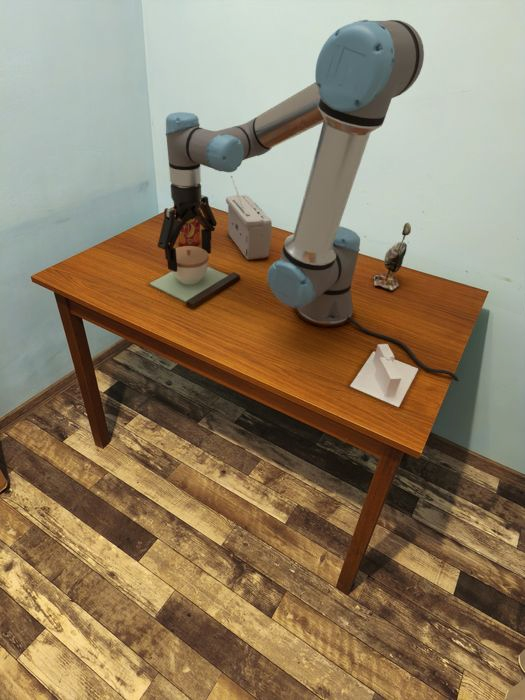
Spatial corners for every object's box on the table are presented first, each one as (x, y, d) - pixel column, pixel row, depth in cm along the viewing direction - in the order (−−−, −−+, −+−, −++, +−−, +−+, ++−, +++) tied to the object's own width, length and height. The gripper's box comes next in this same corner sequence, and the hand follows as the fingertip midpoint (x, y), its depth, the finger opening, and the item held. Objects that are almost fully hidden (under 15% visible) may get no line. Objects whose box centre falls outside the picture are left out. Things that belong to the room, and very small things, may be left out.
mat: (229, 277, 133) (229, 275, 133) (186, 303, 122) (186, 301, 121) (193, 261, 139) (193, 259, 139) (149, 284, 128) (149, 283, 127)
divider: (239, 279, 133) (240, 274, 132) (193, 309, 120) (192, 304, 119) (233, 276, 134) (233, 271, 133) (186, 305, 121) (186, 300, 120)
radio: (270, 259, 143) (275, 196, 130) (245, 263, 140) (248, 199, 128) (247, 231, 158) (249, 172, 145) (224, 233, 155) (225, 174, 142)
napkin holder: (399, 407, 97) (406, 388, 93) (349, 386, 101) (354, 367, 97) (418, 368, 107) (425, 349, 103) (372, 350, 111) (377, 332, 107)
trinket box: (216, 277, 132) (216, 247, 126) (192, 293, 125) (191, 262, 119) (187, 266, 136) (185, 236, 130) (162, 281, 129) (160, 250, 123)
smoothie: (174, 238, 150) (170, 177, 137) (199, 236, 152) (197, 175, 140) (178, 250, 144) (174, 187, 131) (204, 248, 146) (203, 185, 134)
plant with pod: (406, 279, 139) (425, 216, 126) (391, 294, 131) (409, 229, 119) (382, 270, 142) (398, 208, 130) (365, 284, 135) (381, 220, 122)
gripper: (207, 168, 123) (209, 241, 136) (136, 192, 106) (146, 273, 120) (229, 174, 119) (229, 249, 133) (159, 201, 103) (167, 283, 116)
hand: (190, 260), depth 126 cm, fingers open, 13 cm apart
